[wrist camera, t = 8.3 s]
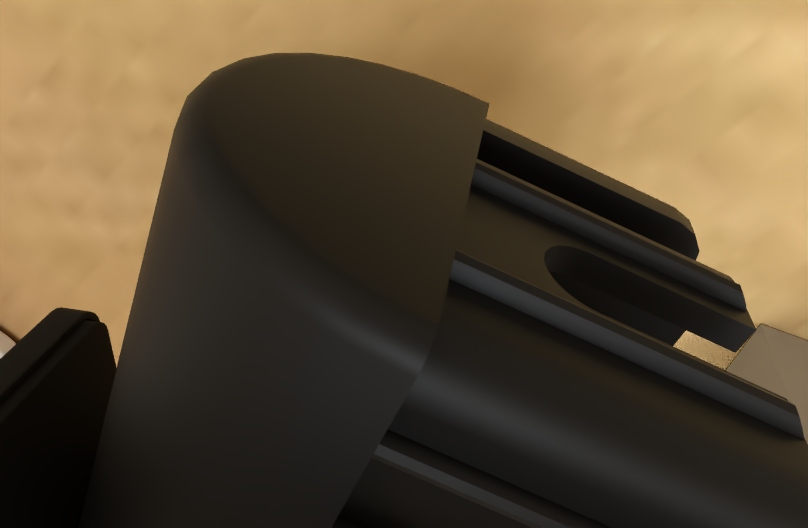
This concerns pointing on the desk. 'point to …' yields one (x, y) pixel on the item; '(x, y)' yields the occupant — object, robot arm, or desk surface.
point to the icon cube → (776, 367)
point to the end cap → (422, 330)
